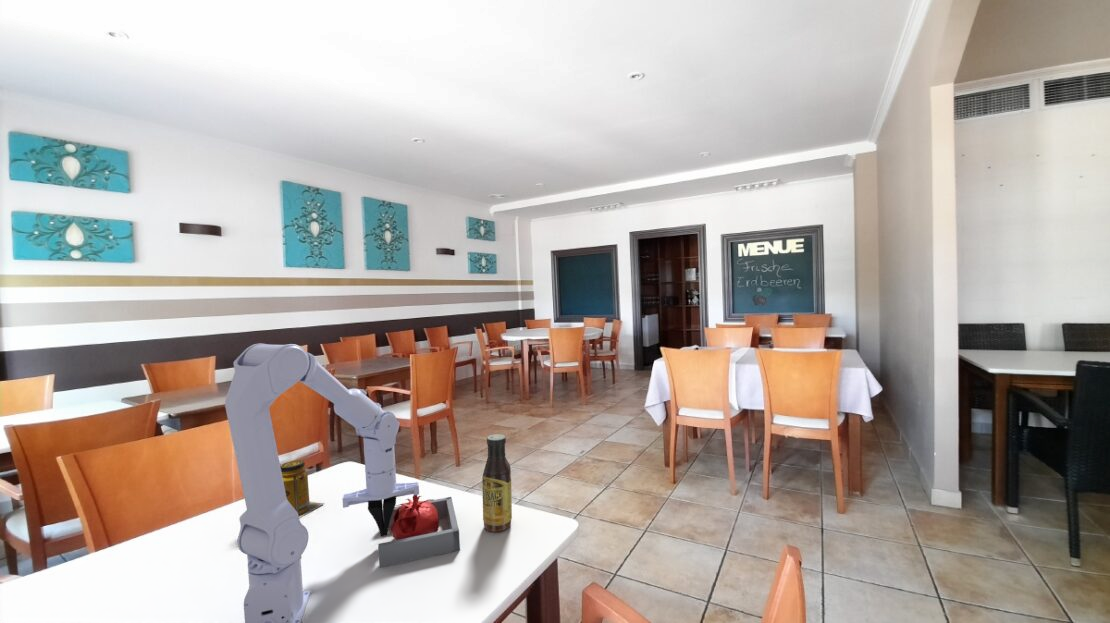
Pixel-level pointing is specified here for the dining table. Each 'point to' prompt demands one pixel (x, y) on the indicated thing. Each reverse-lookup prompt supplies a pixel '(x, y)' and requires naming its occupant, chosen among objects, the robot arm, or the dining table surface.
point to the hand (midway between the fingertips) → (384, 533)
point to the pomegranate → (414, 519)
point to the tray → (423, 539)
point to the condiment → (297, 487)
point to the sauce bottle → (497, 486)
